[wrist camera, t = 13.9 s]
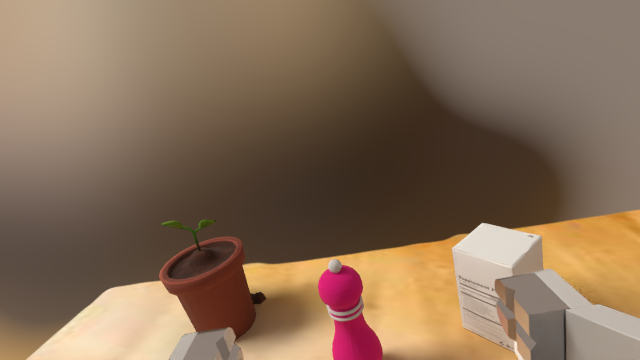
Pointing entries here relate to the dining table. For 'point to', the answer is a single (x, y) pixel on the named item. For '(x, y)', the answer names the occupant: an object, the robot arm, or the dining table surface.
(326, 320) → the dining table surface
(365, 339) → the pepper mill
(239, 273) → the potted plant
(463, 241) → the supplement box
